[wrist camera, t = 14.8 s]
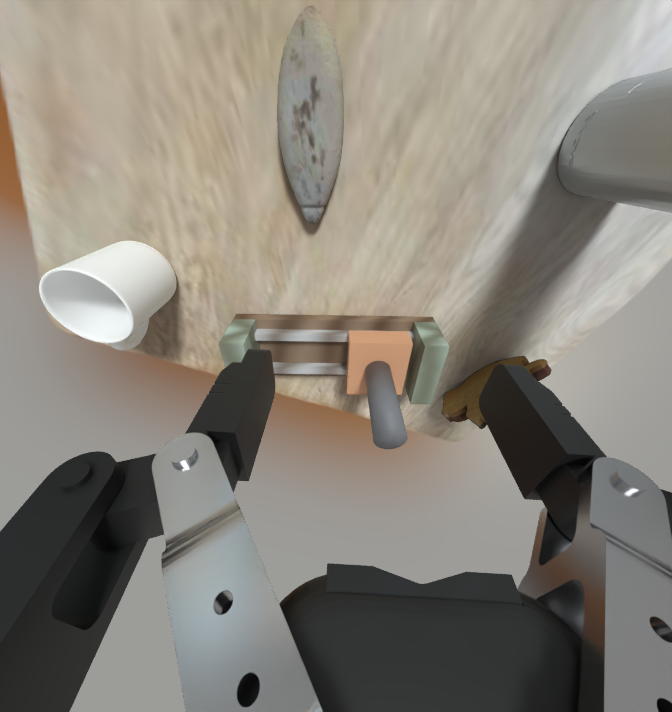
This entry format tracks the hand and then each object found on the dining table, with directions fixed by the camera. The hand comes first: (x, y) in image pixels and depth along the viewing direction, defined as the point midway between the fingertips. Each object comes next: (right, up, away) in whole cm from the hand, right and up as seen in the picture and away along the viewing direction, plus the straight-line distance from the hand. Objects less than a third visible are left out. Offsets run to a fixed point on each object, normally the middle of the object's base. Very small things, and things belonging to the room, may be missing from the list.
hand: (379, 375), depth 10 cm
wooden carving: (+23, -2, +36) cm, 42 cm away
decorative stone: (-4, +23, +17) cm, 29 cm away
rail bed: (-2, +2, +32) cm, 32 cm away
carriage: (+4, +1, +30) cm, 30 cm away
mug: (-27, +10, +27) cm, 39 cm away
